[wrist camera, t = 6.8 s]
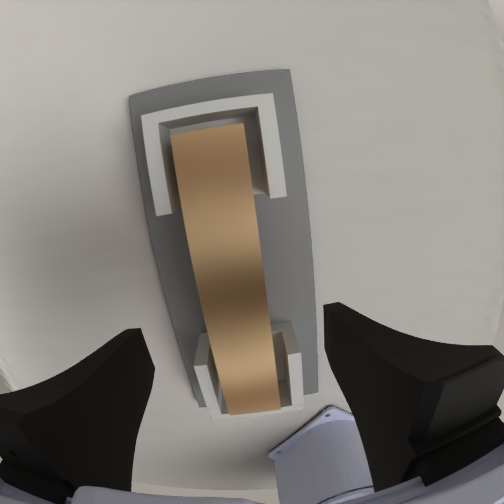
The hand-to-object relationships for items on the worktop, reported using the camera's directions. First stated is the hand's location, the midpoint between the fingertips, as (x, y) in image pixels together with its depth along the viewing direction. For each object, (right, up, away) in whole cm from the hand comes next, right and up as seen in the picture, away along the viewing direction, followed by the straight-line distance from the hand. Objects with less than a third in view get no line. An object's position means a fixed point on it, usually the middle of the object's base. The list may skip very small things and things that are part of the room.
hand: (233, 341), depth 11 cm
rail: (0, +2, +7) cm, 7 cm away
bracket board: (0, +3, +9) cm, 9 cm away
